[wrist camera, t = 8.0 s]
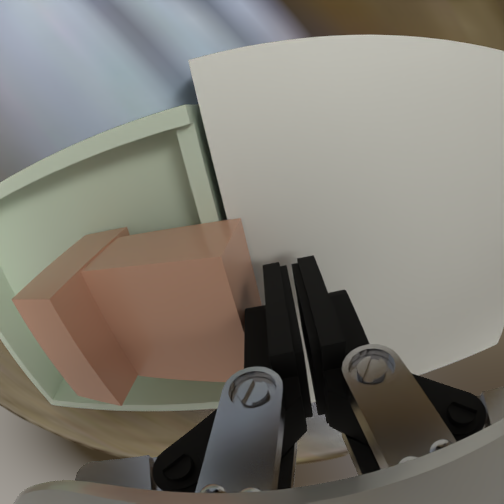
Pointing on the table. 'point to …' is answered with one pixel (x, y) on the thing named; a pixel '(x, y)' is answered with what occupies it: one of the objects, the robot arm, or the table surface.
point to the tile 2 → (178, 299)
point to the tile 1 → (77, 324)
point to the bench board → (370, 178)
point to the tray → (103, 219)
